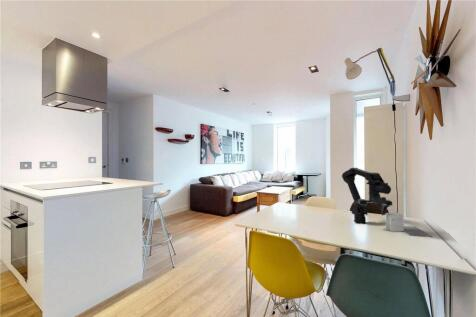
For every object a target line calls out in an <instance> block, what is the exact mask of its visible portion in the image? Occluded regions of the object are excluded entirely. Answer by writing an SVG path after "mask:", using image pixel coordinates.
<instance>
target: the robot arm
mask: <svg viewBox="0 0 476 317" xmlns="http://www.w3.org/2000/svg"><path fill="white" fill-rule="evenodd" d="M356 176H359V177H362V178H364V179H365V180H366V181H367V182H366V183H365V184H366V185H368V200H367V199H365V198H362V197H361V195H360V193H359V190H358V188H357V185H356V183H355V180H356ZM341 178H342V180H343V182H344V183H346V184H347V186H348V189H349V192H350V194H351V197H352V199H353V207H352V209H351V211H350V212H351V214H352V215H353V222H354V223H355V224H361V225H362V224H365V225H366V224H367V222H366V221H367V220H366V219H367V218H366V216H365V215H368V211H369V208H368V207H369V206H368V204H373V205H375V206H381V216H384V215H385V213H386V210H387V208H390V207H392V206H393V202H392V200H390V199H387V197H386V196H385V197H384V196H383V197H381V194H384V195H389V194H390V193H392V187H391V186H390V185H389V183H388V182H385V181H384V179H383V177H382V176H381V173H379V172H371V171H366V170H364V169H361V168H358V167H350V168H349V169H348V170H346V171H344V172H343V173H342V174H341Z"/></svg>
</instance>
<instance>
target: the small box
mask: <svg viewBox="0 0 476 317" xmlns="http://www.w3.org/2000/svg"><path fill="white" fill-rule="evenodd" d="M384 215H385V218H384V219H385V220H384V222H385V229H386V230H388V231H390V232H404V226H405V225H404V215H403V214H401V213H398V212H385V213H384Z"/></svg>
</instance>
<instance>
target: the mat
mask: <svg viewBox="0 0 476 317" xmlns="http://www.w3.org/2000/svg"><path fill="white" fill-rule="evenodd" d="M403 232H404V233H406V234H407V235H409V236H414V237H416V236H417V237H427V236H428V237H430V238H433V236H432V235H431V234H429V233H427V232H426V231H424V230H422V229H420V228H419V227H417V226H416V225H415V226H412V225H411V226H410V225H404V231H403Z"/></svg>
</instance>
